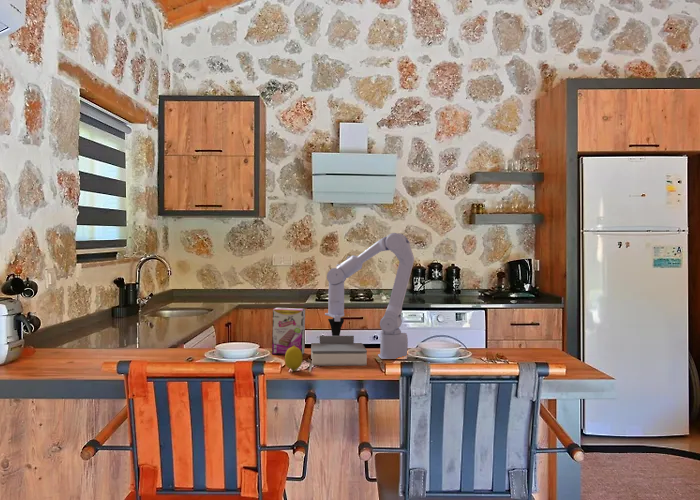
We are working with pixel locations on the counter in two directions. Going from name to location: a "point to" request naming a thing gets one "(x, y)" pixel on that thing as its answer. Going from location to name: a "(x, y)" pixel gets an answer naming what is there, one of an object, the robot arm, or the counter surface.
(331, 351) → the lid
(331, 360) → the mailer box
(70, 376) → the counter surface
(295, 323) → the candy bar box
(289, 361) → the lemon
